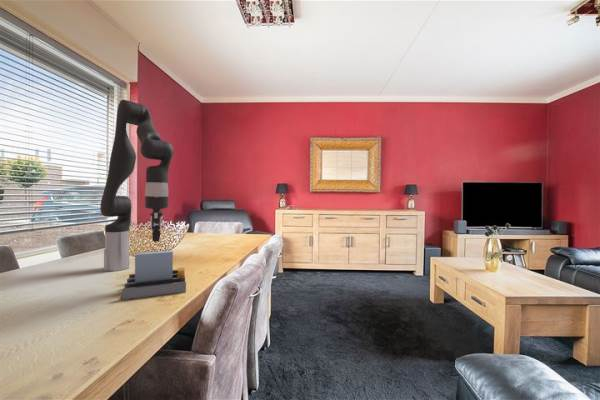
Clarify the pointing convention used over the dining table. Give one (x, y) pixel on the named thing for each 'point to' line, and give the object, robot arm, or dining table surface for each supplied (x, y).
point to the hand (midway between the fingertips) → (156, 239)
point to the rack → (154, 286)
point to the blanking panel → (153, 266)
